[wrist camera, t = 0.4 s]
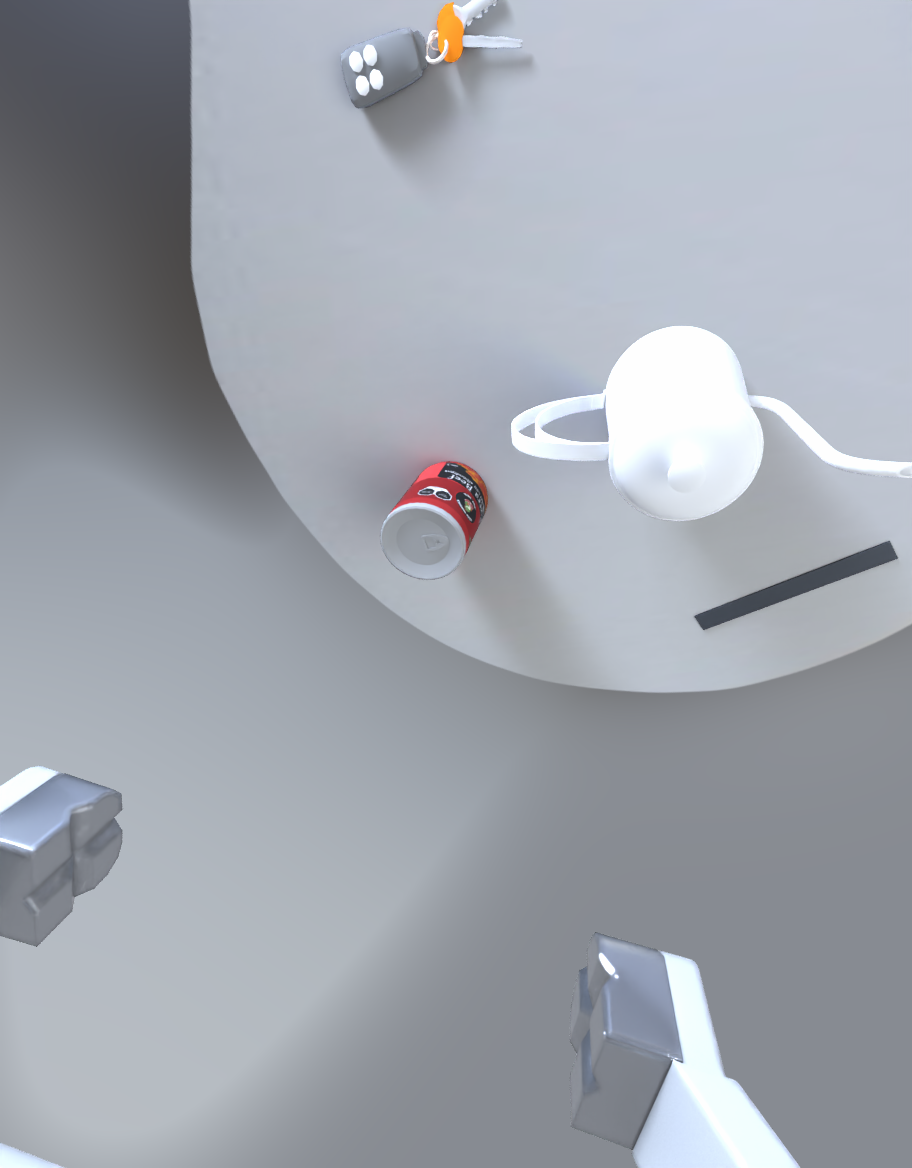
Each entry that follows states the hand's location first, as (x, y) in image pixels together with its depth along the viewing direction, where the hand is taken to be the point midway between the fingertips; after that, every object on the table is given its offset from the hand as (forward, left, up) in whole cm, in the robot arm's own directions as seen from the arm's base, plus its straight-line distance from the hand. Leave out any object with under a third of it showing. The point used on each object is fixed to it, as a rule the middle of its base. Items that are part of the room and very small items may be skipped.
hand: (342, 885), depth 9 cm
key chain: (-1, -22, -49) cm, 54 cm away
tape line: (-4, +32, -49) cm, 59 cm away
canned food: (+19, +6, -49) cm, 53 cm away
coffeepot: (-4, +9, -49) cm, 50 cm away
